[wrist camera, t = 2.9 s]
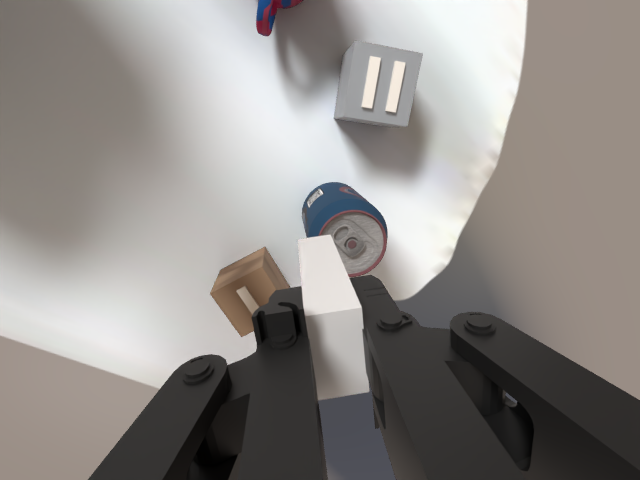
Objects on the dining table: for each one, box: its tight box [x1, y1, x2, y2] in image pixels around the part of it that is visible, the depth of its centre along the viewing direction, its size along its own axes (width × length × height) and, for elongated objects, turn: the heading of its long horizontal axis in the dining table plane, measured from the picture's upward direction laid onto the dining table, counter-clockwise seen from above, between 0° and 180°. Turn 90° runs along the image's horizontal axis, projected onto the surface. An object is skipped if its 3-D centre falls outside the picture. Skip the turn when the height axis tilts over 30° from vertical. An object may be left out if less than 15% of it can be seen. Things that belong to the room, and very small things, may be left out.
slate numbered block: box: [334, 40, 423, 127], centre depth 31 cm, size 6×6×6 cm
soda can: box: [302, 182, 387, 277], centre depth 32 cm, size 7×7×12 cm
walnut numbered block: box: [210, 247, 290, 337], centre depth 36 cm, size 6×6×6 cm
